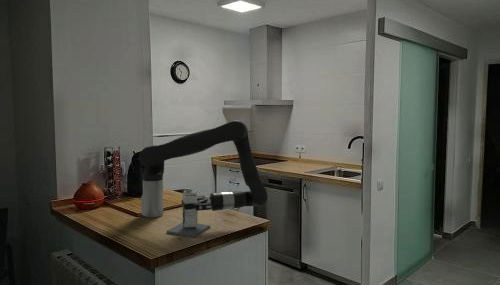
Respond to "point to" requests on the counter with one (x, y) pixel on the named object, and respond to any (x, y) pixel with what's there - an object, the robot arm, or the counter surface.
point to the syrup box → (189, 214)
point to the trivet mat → (188, 230)
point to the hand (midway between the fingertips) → (183, 204)
